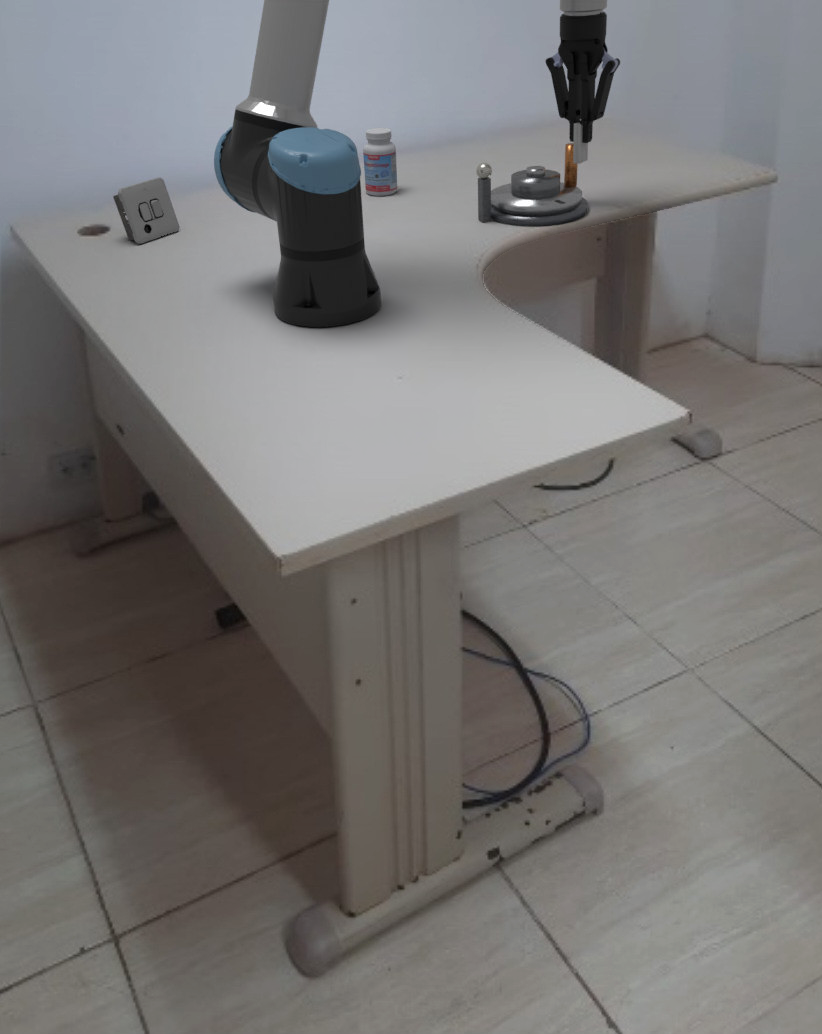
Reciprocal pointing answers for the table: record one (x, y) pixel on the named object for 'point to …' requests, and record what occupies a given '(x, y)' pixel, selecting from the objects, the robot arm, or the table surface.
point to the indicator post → (484, 192)
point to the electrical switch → (146, 210)
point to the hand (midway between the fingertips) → (580, 161)
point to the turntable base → (540, 217)
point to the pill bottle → (380, 163)
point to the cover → (535, 183)
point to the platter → (558, 204)
